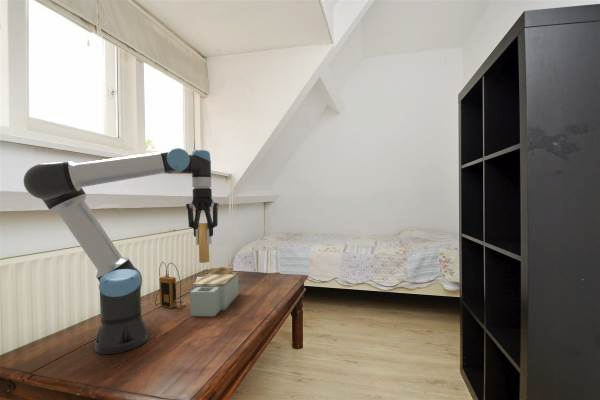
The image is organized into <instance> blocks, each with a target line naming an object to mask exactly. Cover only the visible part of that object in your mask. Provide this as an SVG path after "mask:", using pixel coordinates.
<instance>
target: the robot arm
mask: <svg viewBox="0 0 600 400" xmlns="http://www.w3.org/2000/svg"><path fill="white" fill-rule="evenodd" d="M161 174H162V175H163V174H169V175H170V174H171V175H174V174H179V175H180V174H190V175H191V178H192V179H191V181H192V184H191V185H192V188H193V189H192V200H191V202H190V203H186V204H185V206H186V209H187V218H188V221H187V222H188V228H189V229H190V228H191V229H193V237H195V245H196V246H199V234H198V223H200V221H201V220H200V219H201V213H202V211H203V212H204V214H205V218H206V223H208V229H207V245H209V246H210V245H212V237H214V228H216V227H218V223H219V222H218V219H219V217H218V216H219V215H218V214H219V213H218V210H219V209H218V208H219V205H220V203H219V202H215V201H214V200H213V199H212V197H213V195H212V194H213V193H212V192H213V191H212V190H213V189H212V160H211V153H210V152H209V151H208V150H205V149H195V150H191V153H190V154H189V153H188V152H187V151H186V150H185V149H183V148H180V147H177V148H176V147H175V148H172V149H171V150H166V151H157V152H151V153H143V154H136V155H135V154H134V155H129V156H122V157H115V158H108V159H107V158H106V159H101V160H99V159H98V160H93V161H86V162H79V163H75V162H73V161H71V160H70V161H61V162H60V161H59V162H46V163H40V164H39V163H37V164H35V165H34V166H32V167H30V168H29V169H28V170H27V171H26V173H25V174H24V176H23V186H24V188H25V190H26V191H27V192H28V193H29V194H30V195H31V196H33V197H35V198H37V199H39V200H42V201H43V203H44V204H45V206H46V207H47V209H48V210H49V212H54V213H57V214H58V215H59V216H60V218H61V220H62V221H63V222H64V224H65V225H66V226H67V227H66V228H68V230H69V231H70V232H71V234H72V236H73V237H74V238H75V239H76V241H77V242H78V245H80V247H81V249H82V250H83V251H84V252H85V254H86V256H87V257H88V258H89V261H91V263H92V264H93V266H94V268H96V270H97V272H96V275H95V277H96V279H97V280H98V281H99V284H98V290H99V304H100V305H99V306H100V308H99V309H100V327H99V329H98V332H97V334H96V339H95V340H94V341H95V343H94V346H95V347H94V350H95V352H96V353H98V354H100V355H101V354H102V355H113V354H121V353H124V352H128V351H132V350H133V349H136V348H138V347H139V346H142V345H144V343H146V341H147V340H148V338H149V337H148V334H149V333H148V329H147V327H146V324H145V321H144V319H143V317H142V301H141V298H142V297H141V296H142V295H141V292H142V291H141V290H142V285H143V276H142V273H141V272H140V270H139V269H138V268H137V267H135V266H134V265H133V263H132V261H131V259H130V258H129V257H126V256H122V255H121V253H120V252H119V251H118V249H117V247H116V245H115V244H114V242H113V241H112V240H111V238H110V237H109V236H108V234H107V232H106V230H105V229H104V227H103V226H102V225H101V223H100V221H98V219H97V217H96V216H95V214H94V213H93V211H92V209H91V208H90V207H89V205H88V204H87V202H86V198H87V194H86V192H85V191H84V189H83V188H85V187H86V188H87V187H90V186H96V185H102V184H108V183H114V182H120V181H125V180H131V179H136V178H142V177H150V176H155V175H161ZM211 207H212V214H211ZM194 208H195V209H194ZM194 210H195V211H194ZM194 212H195V214H194Z"/></svg>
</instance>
